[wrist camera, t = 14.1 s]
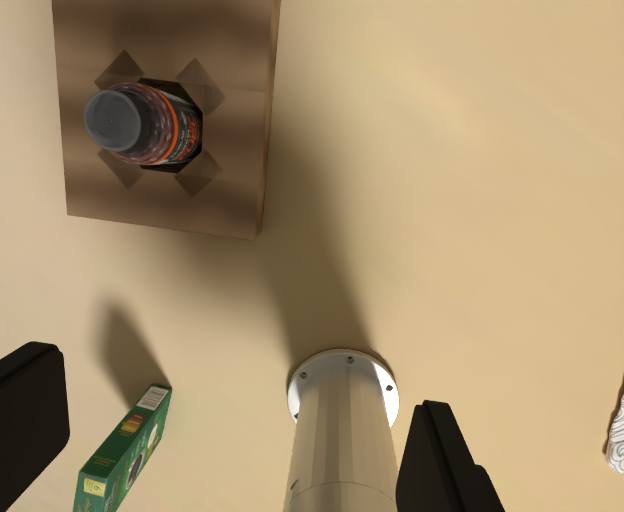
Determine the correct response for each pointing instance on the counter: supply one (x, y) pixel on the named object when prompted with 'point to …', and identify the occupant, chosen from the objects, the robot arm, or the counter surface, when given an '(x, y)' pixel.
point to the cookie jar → (616, 442)
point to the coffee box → (122, 454)
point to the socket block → (200, 87)
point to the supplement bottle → (144, 124)
